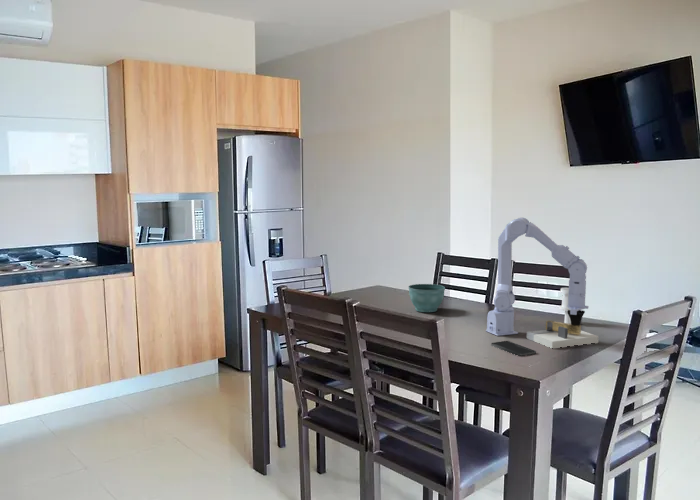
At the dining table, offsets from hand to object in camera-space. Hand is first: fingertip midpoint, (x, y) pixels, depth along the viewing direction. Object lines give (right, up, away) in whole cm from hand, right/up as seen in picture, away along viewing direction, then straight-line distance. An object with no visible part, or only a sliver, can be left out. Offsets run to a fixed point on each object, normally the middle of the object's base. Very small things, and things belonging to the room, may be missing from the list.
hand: (575, 330), depth 207 cm
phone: (-26, -6, -11) cm, 28 cm away
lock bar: (-4, -1, +1) cm, 4 cm away
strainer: (+8, -1, +27) cm, 28 cm away
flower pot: (-47, +2, +49) cm, 68 cm away
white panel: (-5, -4, 0) cm, 6 cm away
